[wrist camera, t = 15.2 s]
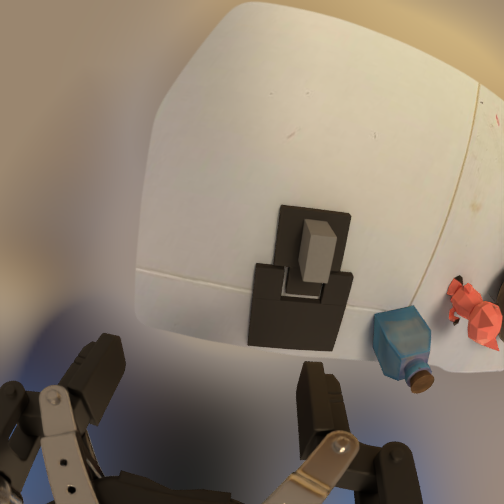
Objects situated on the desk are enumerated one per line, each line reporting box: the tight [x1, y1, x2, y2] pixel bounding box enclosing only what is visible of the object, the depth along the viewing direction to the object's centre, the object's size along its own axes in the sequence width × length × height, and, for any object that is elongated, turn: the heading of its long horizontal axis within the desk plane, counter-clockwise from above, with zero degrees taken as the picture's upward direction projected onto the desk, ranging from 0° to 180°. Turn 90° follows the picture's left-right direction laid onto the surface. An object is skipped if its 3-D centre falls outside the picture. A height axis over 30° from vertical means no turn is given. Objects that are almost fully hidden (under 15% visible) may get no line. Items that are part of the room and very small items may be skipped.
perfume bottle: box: [373, 306, 434, 393], centre depth 34 cm, size 6×6×12 cm
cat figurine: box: [447, 275, 502, 351], centre depth 31 cm, size 7×7×12 cm
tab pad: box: [274, 205, 351, 296], centre depth 33 cm, size 8×11×6 cm
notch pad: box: [248, 263, 354, 351], centre depth 38 cm, size 12×12×1 cm
